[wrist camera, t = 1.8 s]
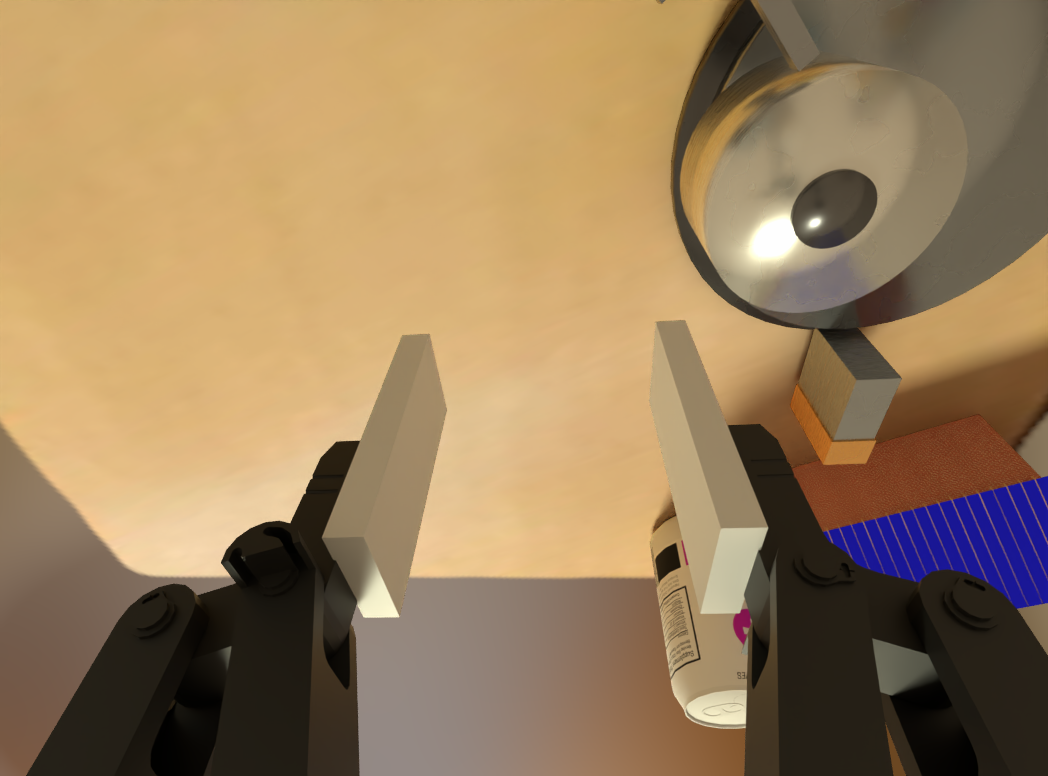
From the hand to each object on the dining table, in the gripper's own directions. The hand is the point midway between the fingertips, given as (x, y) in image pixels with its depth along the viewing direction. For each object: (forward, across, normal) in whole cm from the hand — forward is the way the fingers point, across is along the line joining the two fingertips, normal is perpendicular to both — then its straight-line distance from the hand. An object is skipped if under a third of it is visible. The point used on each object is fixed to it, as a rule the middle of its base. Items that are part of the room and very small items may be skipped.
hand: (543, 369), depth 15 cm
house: (+19, +25, -29) cm, 43 cm away
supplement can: (+19, +12, -34) cm, 41 cm away
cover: (+16, +12, 0) cm, 20 cm away
